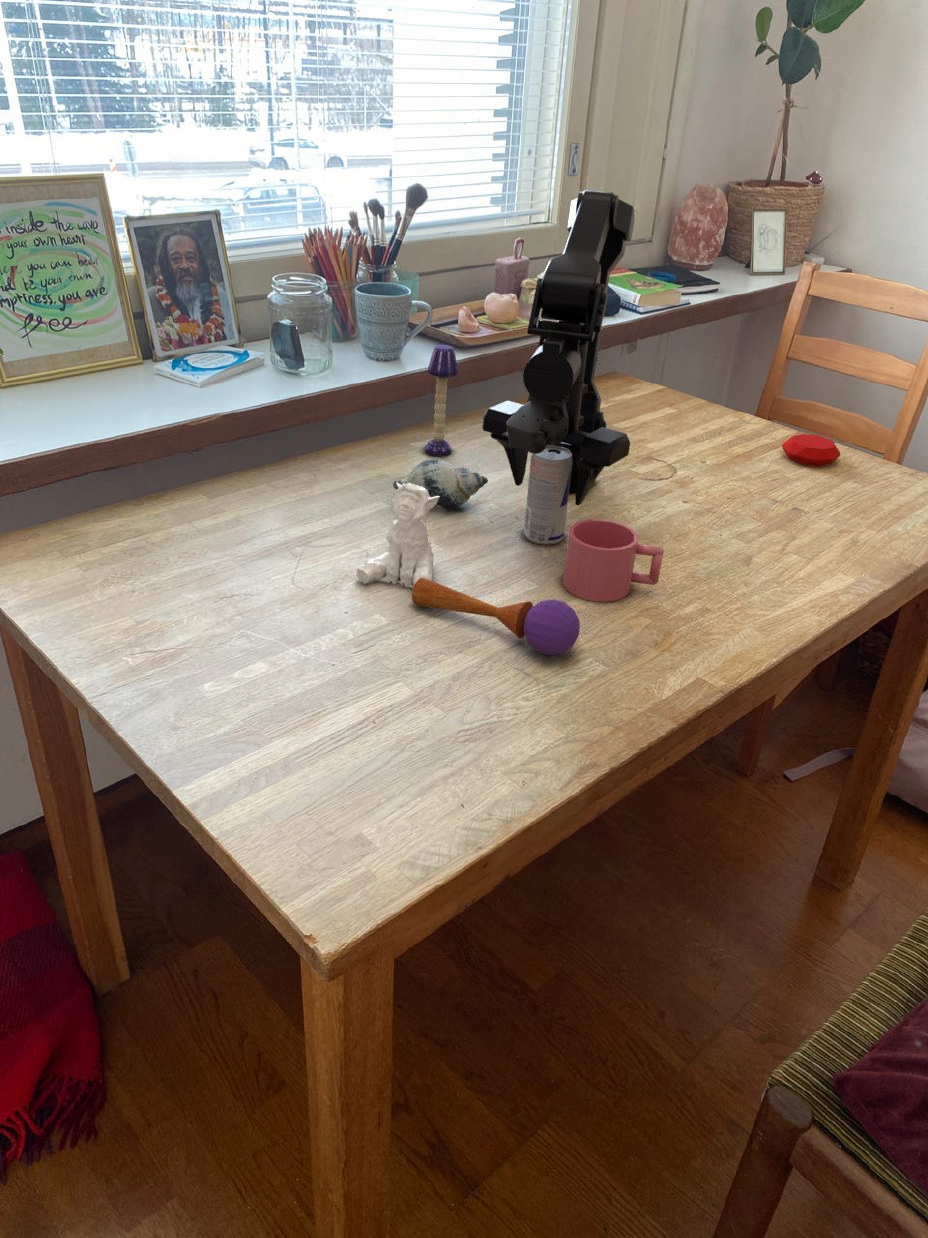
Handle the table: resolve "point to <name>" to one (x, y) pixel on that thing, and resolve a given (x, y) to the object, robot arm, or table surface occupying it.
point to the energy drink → (548, 495)
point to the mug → (606, 560)
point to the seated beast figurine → (404, 541)
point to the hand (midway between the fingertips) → (548, 494)
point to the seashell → (445, 482)
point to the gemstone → (811, 450)
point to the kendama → (510, 616)
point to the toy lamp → (441, 395)
